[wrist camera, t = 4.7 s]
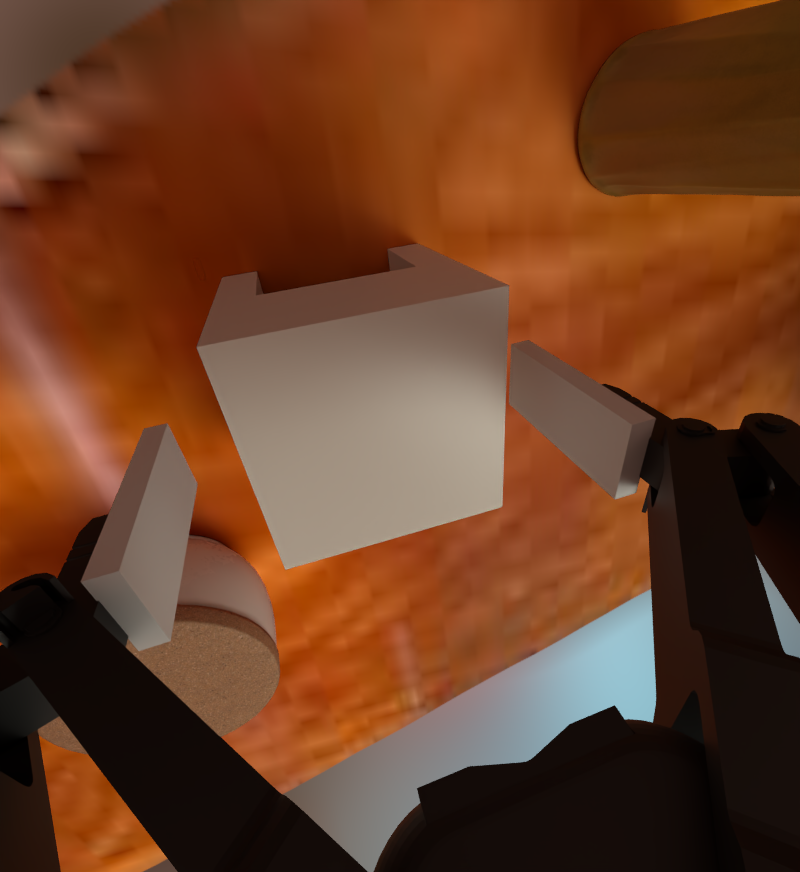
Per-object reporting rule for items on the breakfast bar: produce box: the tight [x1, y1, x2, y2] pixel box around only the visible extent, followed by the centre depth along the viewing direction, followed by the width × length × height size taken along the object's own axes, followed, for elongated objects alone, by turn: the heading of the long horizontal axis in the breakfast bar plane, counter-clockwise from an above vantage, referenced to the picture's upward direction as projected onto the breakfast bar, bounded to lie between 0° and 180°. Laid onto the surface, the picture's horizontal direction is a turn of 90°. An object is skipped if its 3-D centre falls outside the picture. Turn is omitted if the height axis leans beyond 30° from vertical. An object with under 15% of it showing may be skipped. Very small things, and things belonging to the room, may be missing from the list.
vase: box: [578, 0, 800, 197], centre depth 14 cm, size 6×6×14 cm
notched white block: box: [197, 244, 509, 570], centre depth 18 cm, size 9×9×9 cm
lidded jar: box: [38, 535, 280, 754], centre depth 23 cm, size 11×11×9 cm
